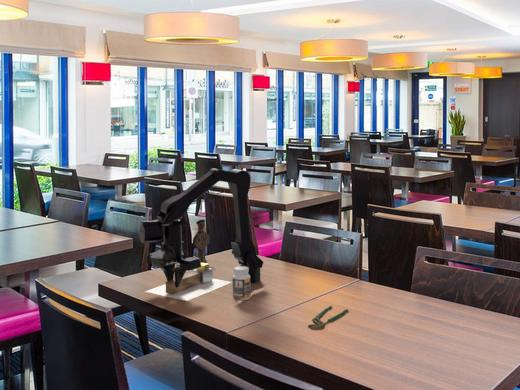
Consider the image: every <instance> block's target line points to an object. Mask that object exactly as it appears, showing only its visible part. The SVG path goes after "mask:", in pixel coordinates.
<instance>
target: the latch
mask: <svg viewBox="0 0 520 390" xmlns="http://www.w3.org/2000/svg"><path fill="white" fill-rule="evenodd" d="M209 268H210V263H201V267H199V268H196V270H201V271H205V270H208V269H209Z"/></svg>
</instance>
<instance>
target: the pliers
mask: <svg viewBox="0 0 520 390" xmlns="http://www.w3.org/2000/svg"><path fill="white" fill-rule="evenodd" d="M332 308H333V306H332V305H329V306H328V307H326V308H324V309H323V310H322V311H321V312H319V313H318V314H317V315H316V316H314V317H313V318H312V319H311V321H312V322H314V323H312V324H308V325H307V327H308V328H309V329H310V330H322V329H323V328H324V327H325V326H327V325H328V324H330V323H332V322H334V321H336V320H337V319H339V318H341V317H343V316H344V315H345V314H347V313H349V309H347V308H346V309H345V310H342V311H341V312H340V313H338V314H336V315H334V316H331V317H329V319H327V321H326V322H323V321H322V320H321V318H322V317H323V316H324V315H325V314H327V312H328V311H330V310H332Z"/></svg>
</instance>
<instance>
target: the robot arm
mask: <svg viewBox="0 0 520 390" xmlns="http://www.w3.org/2000/svg"><path fill="white" fill-rule="evenodd" d="M251 180H252V179H251V174H250V173H249V172H248V171H247V170H243V169H237V168H233V169H230V170H224V169H220V168H214V167H212V168H210V169H209V170H208V172H207V173H205V174H204V175H203V176H201V177H200V178H198V180H196V181H194V183H192V184H191V185H190V186H189V187H188V188H186V189H185V190H184V191H183V192H181V193H179V194H176V195H173V196H171V197H170V198H168V199H166V200H164V201H163V202H162V203H161V206H160V209H159V211H158V213H157V215H156V216H155V218H154V220H141V221H140V223H141V224H140V226H139V230H138V235H139V236H138V237H139V240H140V242H141V243H145V244H146V243H152V242H160V241H161V240H163V242H162V243H160V249H158V250H156V251H155V252H151V253H148V254H147V256H146V264H150V265H151V264H152V266H153V267H158V268H159V269H160V270H162V271H163V273H164V276H165V278H166V280H167V281H170V280H173V279H175V286H176V288H177V287H179V285H180V283H181V280H182V278H183V276H184V275H186V272H187V271H189V272H190V271H193V270H195V269H196V268H199V267H201V261H200V259H199V257H198V258H196V257H193V256H192V257H191V256H190V257H186V255H185V254H184V253H183V246H185V241H183V239H182V238H183V235H182V233H183V232H182V230H183V229H182V226H188V224H189V223H188V222H187V221H186V220H185V219H184V217H183V216H184V215H185V213H187V211H188V210H189V208H190V206H191V205H192V203H193V202H195V201H196V200H197V199H199V198H200V197H201V196H203V194H205V193H206V192H207V191H208V190H210V189H211V188H212V187H213V186H215V185H216V184H217V183H218V182H225V183H227V184H228V189H229V191H230V193H231V194H232V197H233V200H232V201H233V207H234V220H235V221H234V222H235V233H236V234H235V235H236V239H235V241H234V242H232V241H231V243H230V246H231V254H232V255H233V258H234V259H235V260H237V263H238V264H239V265H240V266H245V267H248V268H249V272H248V274H249V275H250V277H251V284H257V283H259V282H261V268H263V264H264V261H263V260H262V259H261V258H260V257H259V256H258V253H257V250H256V245H255V243H254V241H253V239H252V237H251V229H250V227H251V226H250V217H249V214H250V213H249V204H248V202H249V201H248V194H249V191H250V189H251ZM185 257H186V258H185ZM167 281H166V282H167Z"/></svg>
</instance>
